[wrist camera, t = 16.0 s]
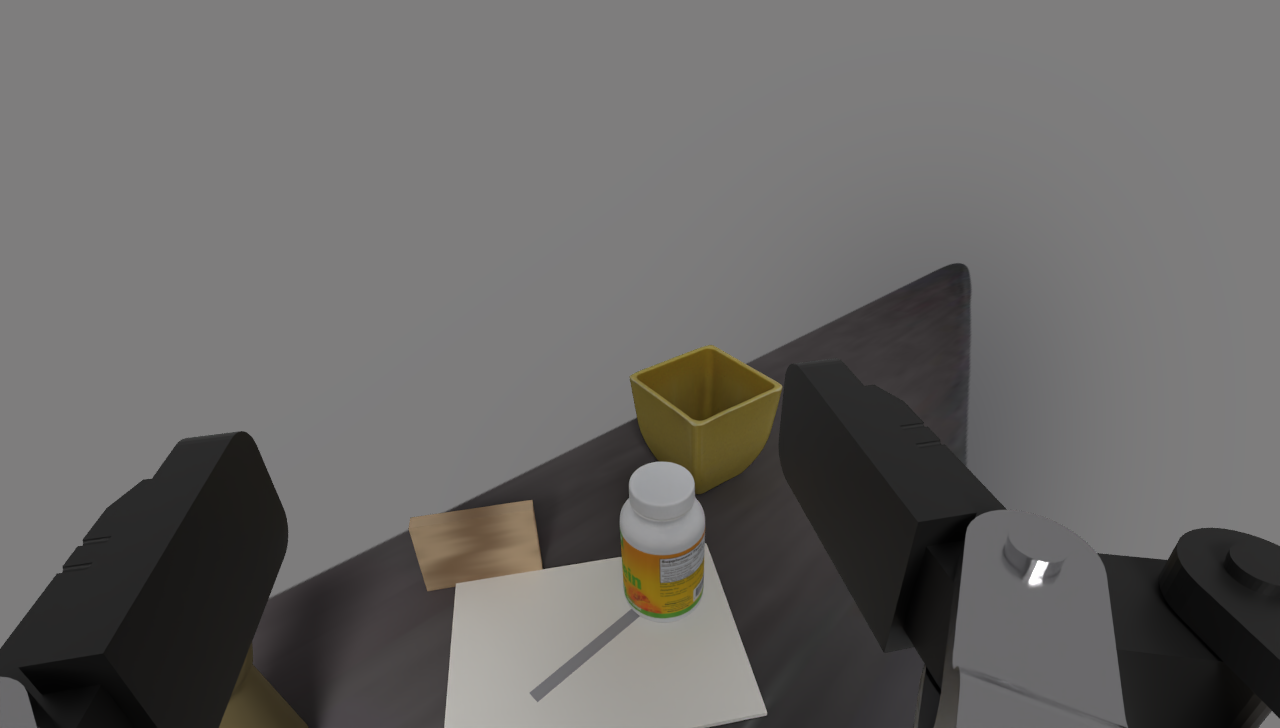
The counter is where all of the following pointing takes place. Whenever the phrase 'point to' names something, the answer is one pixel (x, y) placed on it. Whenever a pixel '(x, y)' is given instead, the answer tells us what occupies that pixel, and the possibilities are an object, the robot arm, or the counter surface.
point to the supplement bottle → (662, 543)
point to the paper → (592, 655)
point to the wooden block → (476, 544)
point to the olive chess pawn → (258, 703)
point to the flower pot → (705, 413)
